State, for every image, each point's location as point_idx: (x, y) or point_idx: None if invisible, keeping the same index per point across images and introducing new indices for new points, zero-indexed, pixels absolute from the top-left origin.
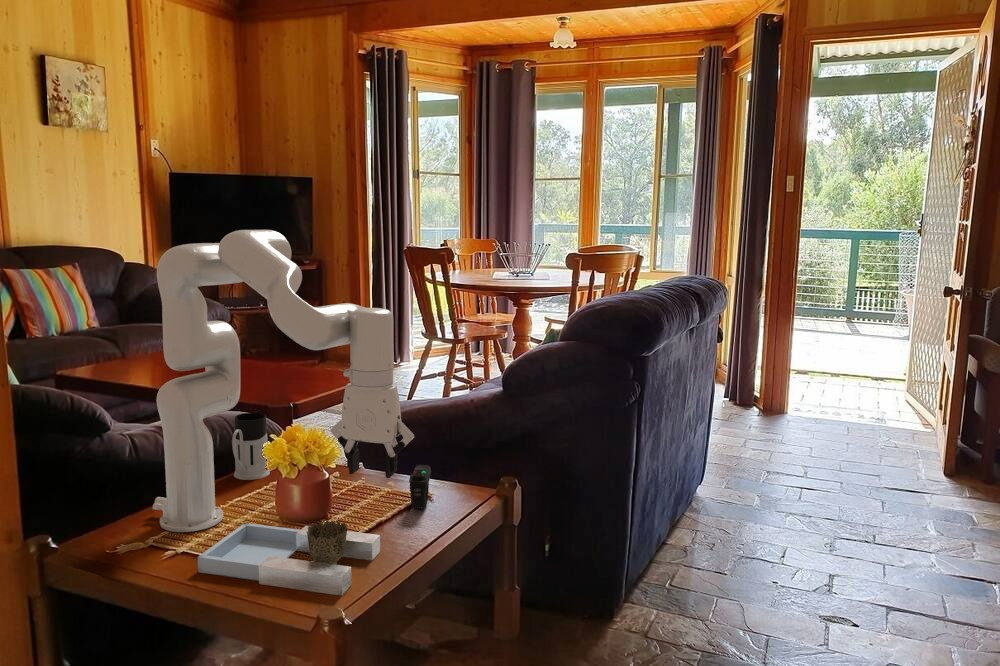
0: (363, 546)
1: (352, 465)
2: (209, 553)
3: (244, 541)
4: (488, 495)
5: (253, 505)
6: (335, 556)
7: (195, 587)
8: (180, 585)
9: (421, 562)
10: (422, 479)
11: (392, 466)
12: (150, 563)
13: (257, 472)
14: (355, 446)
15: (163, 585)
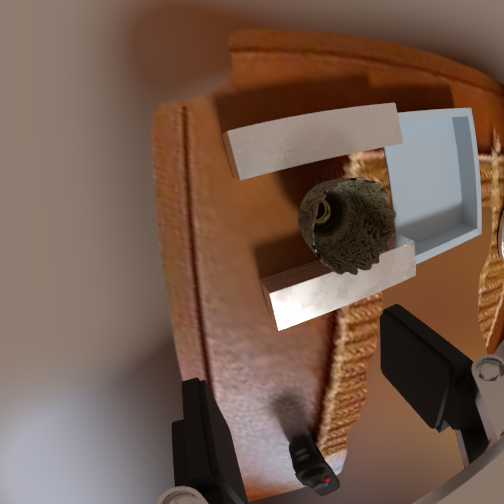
0: (285, 283)
1: (407, 333)
2: (468, 126)
3: (460, 213)
4: None
5: (485, 302)
6: (301, 203)
7: (430, 70)
8: (445, 70)
9: (174, 323)
10: (304, 475)
11: (183, 441)
12: (494, 112)
13: (500, 354)
14: (460, 425)
15: (456, 66)
